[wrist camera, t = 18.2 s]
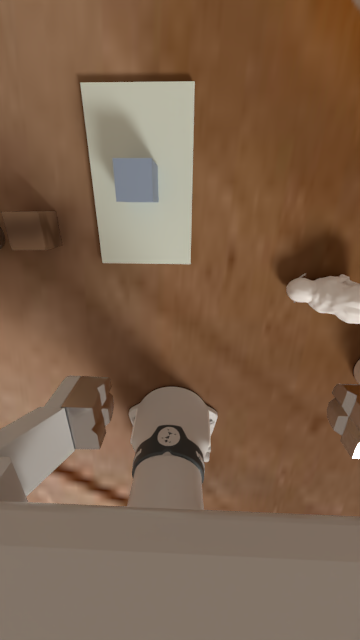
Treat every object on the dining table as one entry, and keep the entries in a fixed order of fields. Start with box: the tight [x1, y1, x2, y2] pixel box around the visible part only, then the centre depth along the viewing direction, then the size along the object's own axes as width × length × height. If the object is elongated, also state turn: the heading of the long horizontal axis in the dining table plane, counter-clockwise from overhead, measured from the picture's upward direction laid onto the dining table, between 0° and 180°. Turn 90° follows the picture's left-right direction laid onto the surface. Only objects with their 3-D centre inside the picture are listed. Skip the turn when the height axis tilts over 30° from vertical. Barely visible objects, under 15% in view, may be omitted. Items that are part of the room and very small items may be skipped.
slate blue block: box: [112, 158, 159, 202], centre depth 32 cm, size 4×4×6 cm
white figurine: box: [286, 274, 360, 324], centre depth 38 cm, size 6×8×12 cm
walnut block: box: [1, 211, 62, 250], centre depth 37 cm, size 5×5×5 cm
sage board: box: [80, 81, 195, 264], centre depth 35 cm, size 22×14×1 cm, turn 0°
